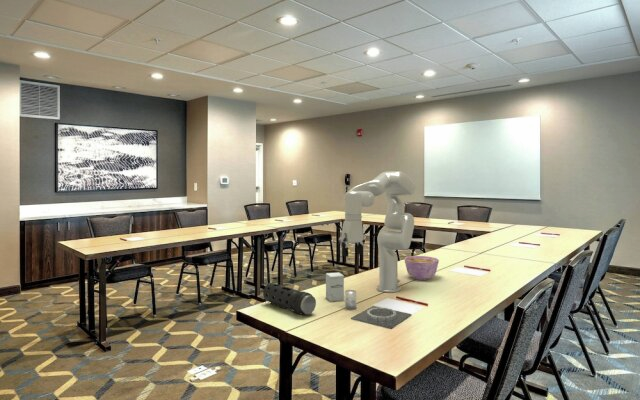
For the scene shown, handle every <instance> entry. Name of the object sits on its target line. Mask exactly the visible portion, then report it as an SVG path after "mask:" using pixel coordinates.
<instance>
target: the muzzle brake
mask: <svg viewBox="0 0 640 400" xmlns="http://www.w3.org/2000/svg"><path fill="white" fill-rule="evenodd" d="M262 296H263V298H264V300H265V301H267V302H269V303H270V302H271V303H272V304H271V303H270V304H271V305H274V304H275V305H274V306H277V307H279V306H280V308H282V307H283V308H284V309H286V310H288V309H289V310H290V311H293V312H296V313H295V314H297V313H299V314H298V315H303V316H304V315H311V314H313V312H314V311H315V309H316V306H317V300H316V298H315V297H314V295H312V294H311V293H309V292H307V291H301V290H298V289H295V288H291V287H288V286H285V285H281V284H278V283H274V282H270V283H268V284H266V286H265V287H264V289H263V295H262ZM283 308H282V309H283ZM287 308H288V309H287Z"/></svg>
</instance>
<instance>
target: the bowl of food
mask: <svg viewBox="0 0 640 400" xmlns="http://www.w3.org/2000/svg"><path fill="white" fill-rule="evenodd" d="M439 261H440V260H439V259H438V258H437V257H433V256H429V255H428V256H426V255H409V256H406V257H404V264H405V268H406V271H407V274H408V275H409V276H410V277H411V278H413V279H414V280H416V281H417V280H418V281H427V280H429V279H431V278H433V277H434V276H435V275H436V273H437V269H438V266H439Z"/></svg>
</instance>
